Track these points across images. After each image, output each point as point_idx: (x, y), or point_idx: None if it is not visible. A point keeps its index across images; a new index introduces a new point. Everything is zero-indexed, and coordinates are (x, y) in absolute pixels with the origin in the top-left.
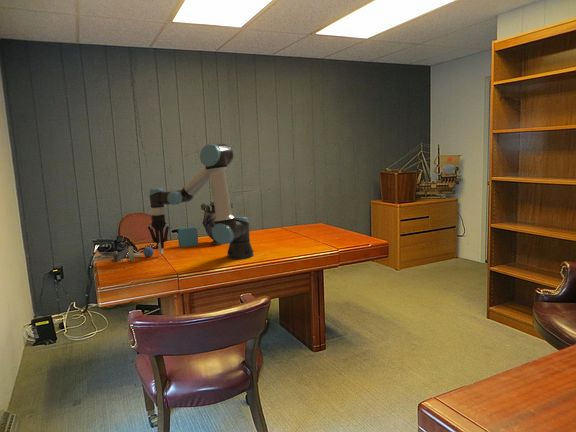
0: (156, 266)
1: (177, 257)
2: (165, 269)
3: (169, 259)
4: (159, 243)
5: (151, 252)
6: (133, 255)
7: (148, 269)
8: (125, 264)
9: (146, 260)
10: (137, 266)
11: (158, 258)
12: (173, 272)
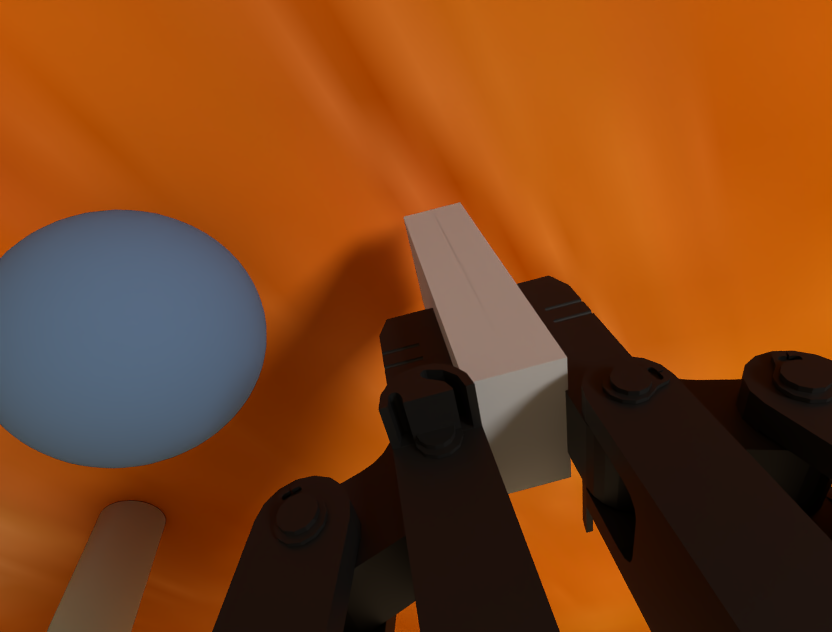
0: (591, 568)
1: (746, 220)
2: None
3: (644, 348)
4: (530, 484)
5: (261, 364)
6: (135, 597)
7: (559, 625)
8: (202, 609)
9: (324, 453)
10: (402, 610)
11: None
12: None
